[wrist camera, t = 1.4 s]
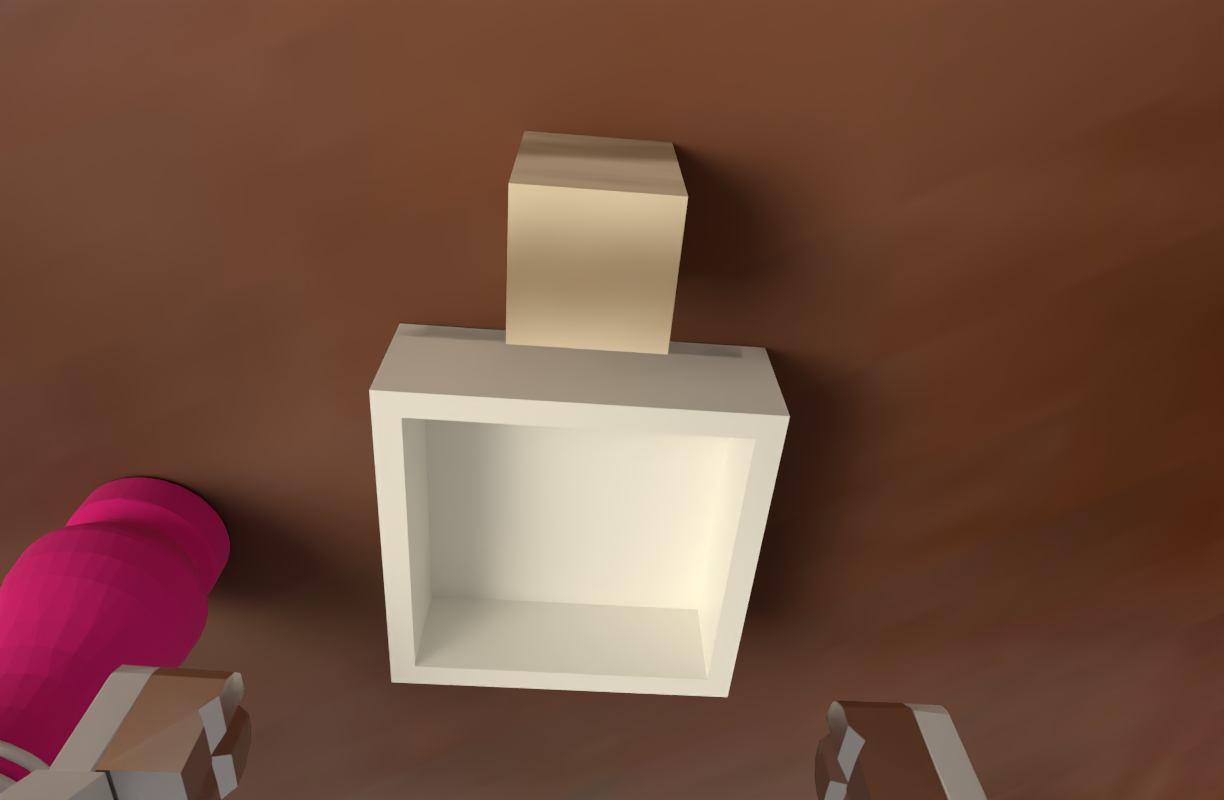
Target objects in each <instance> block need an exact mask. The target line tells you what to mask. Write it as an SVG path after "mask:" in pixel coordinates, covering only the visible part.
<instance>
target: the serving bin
mask: <svg viewBox="0 0 1224 800" xmlns="http://www.w3.org/2000/svg"><path fill="white" fill-rule="evenodd" d="M369 393H370V406H371V419H372V432H373V446H374V459H375V472H376V485H377V498H378V511H379V524H380V537H381V550H382V563H383V576H384V589H385V602H386V615H387V628H388V641H389V654H390V668H391V681H392V682H397V683H420V684H442V685H465V686H487V687H510V688H532V689H555V690H578V691H600V692H623V693H645V694H668V695H690V696H713V697H728V692H729V688H730V683H731V679H732V674H733V670H734V665H735V661H736V656H737V652H738V647H739V643H740V638H741V634H742V629H743V625H744V620H745V616H746V611H747V607H748V602H749V598H750V593H751V589H752V584H753V580H754V575H755V571H756V566H757V562H758V557H759V553H760V548H761V544H762V539H763V535H764V530H765V526H766V521H767V517H768V513H769V508H770V504H771V499H772V495H773V490H774V486H775V481H776V477H777V472H778V468H779V463H780V459H781V454H782V450H783V445H784V441H785V436H786V432H787V427H788V423H789V418H790V415H789V412H788V410H787V407H786V404H785V401H784V399H783V396H782V393H781V390H780V388H779V385H778V382H777V379H776V377H775V374H774V371H773V368H772V366H771V363H770V360H769V357H768V355H767V352H766V349H765V348H762V347H747V346H732V345H717V344H702V343H687V342H672V341H669V348H668V355H667V354H652V353H636V352H621V351H606V350H590V349H575V348H560V347H545V346H529V345H514V344H506V330H492V329H477V328H462V327H447V326H432V325H417V324H402V323H400V324H399V326H398V329H397V331H396V333H395V335H394V337H393V340H392V342H391V344H390V346H389V348H388V350H387V353H386V355H385V357H384V359H383V361H382V363H381V366H380V368H379V370H378V372H377V374H376V376H375V379H374V381H373V383H372V385H371V387H370V390H369Z"/></svg>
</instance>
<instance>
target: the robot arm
mask: <svg viewBox="0 0 1224 800" xmlns="http://www.w3.org/2000/svg"><path fill="white" fill-rule="evenodd" d="M243 693H244V686H243V682H242V678H241V674H239V673H235V672H224V671H211V670H197V669H184V668H171V667H152V666H136V665H121V666H120V667H119V668H118V669H116V670H115V671H114V672H113V673H112V674H110V676H109V677H108V679H107V680H106V682H105V684H104V685H103V687H102V688H101V690H100V691H99V693H98V694H97V696H96V697H95V699H94V700H93V702H92V704H91V705H90V707H89V708H88V710H87V711H86V713H85V714H84V716H83V717H82V719H81V720H80V722H79V723H78V725H77V727H76V728H75V730H74V731H73V733H72V734H71V736H70V737H69V739H68V740H67V742H66V743H65V745H64V746H63V748H62V750H61V751H60V753H59V754H58V756H57V757H56V759H55V760H54V762H53V763H52V765H51V766H50V768H49V769H48V770H46V769H36V770H35V771H33V772H32V773H30V774H29V775H27V776H26V777H24V778H23V779H21V780H20V781H18V782H17V783H15V784H14V785H12V786H11V787H9V788H7V789H6V790H4V791H3V792H1V793H0V800H221V799H222V798H223V797H225V796H226V795H227V794H228V793H230V792H231V791H232V790H233V789H235V788H236V787H237V786H238V784H239V781H240V779H241V776H242V774H243V771H244V769H245V766H246V762H247V757H248V752H249V748H250V743H251V724H250V718H249V714H248V713H247V712H246V711H245V710H244V709H243V708H242V707H240V706H239V705H238V704H239V702H240V700H241V698H242V696H243ZM826 719H827V723H828V727H829V730H830V733H829V734H828V735H826V736H825V737H824V738H822V739H821V740H820V741H819V745H818V749H817V753H816V757H815V784H816V792H817V797H818V800H987V798H986V796H985V794H984V791H983V789H982V787H981V785H980V782H979V780H978V778H977V776H976V774H975V771H974V769H973V767H972V765H971V762H970V760H969V758H968V756H967V753H966V751H965V749H964V747H963V745H962V742H961V740H960V738H959V736H958V733H957V731H956V729H955V727H954V725H953V722H952V720H951V718H950V716H949V713H948V711H947V710H946V709H945V708H944V707H943V706H942V705H924V704H903V703H888V702H860V701H835V702H834V703H833V704H832V705H831V706H830V709H829V712H828V715H827V718H826Z"/></svg>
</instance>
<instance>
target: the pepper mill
mask: <svg viewBox="0 0 1224 800" xmlns="http://www.w3.org/2000/svg"><path fill="white" fill-rule="evenodd" d="M229 554H230V539H229V536H228V533H227V530H226V527H225V525H224V524H223V522H222V520H221V518H220V517H219V515H218V513H217V512H216V511H215V510H214V509H213V508H211V507H210V506H209V505H208V504H207V503H206V502H205V501H204V500H203V499H202V498H201V497H199V496H198V495H196V494H194V493H192V492H191V491H189V490H187V489H185V488H184V487H182V486H179V485H176V484H173V483H170V482H167V481H164V480H161V479H153V478H146V477H135V478H122V479H118V480H114V481H111V482H109V483H107V484H104V485H102V486H100V487H99V488H97V489H96V490H95V491H94V492H92V493H91V494H90V495H89V497H88V498H87V499H86V500H85V501H84V503H83V504H82V505H81V506H80V507H79V508H78V510H77V511H76V512H75V513H74V514H73V516H72V517H71V518H70V520H69V521H68V523H67V524H66V527H63V528H60V529H58V530H55V531H53V532H50V533H48V534H46V535H44V536H42V537H41V538H40V539H38V540H37V541H36V542H34V543H33V544H32V545H30V546H29V547H28V548H27V549H26V550H25V552H24V553H23V554H22V555H21V556H20V558H19V559H18V560H17V562H16V563H15V565H14V566H13V567H12V569H11V570H10V571H9V573H8V574H7V576H6V577H5V579H4V581H3V584H2V586H1V589H0V793H1V792H3V791H4V790H6V789H7V788H9V787H11V786H12V785H14V784H15V783H17V782H18V781H20V780H21V779H23V778H24V777H26V776H27V775H29V774H30V773H32V772H33V771H35V770H36V769H46V770H48V769H49V768H50V766H51V765H52V763H53V762H54V760H55V759H56V757H57V756H58V754H59V753H60V751H61V750H62V748H63V746H64V745H65V743H66V742H67V740H68V739H69V737H70V736H71V734H72V733H73V731H74V730H75V728H76V727H77V725H78V723H79V722H80V720H81V719H82V717H83V716H84V714H85V713H86V711H87V710H88V708H89V707H90V705H91V704H92V702H93V700H94V699H95V697H96V696H97V694H98V693H99V691H100V690H101V688H102V687H103V685H104V684H105V682H106V680H107V679H108V677H109V676H110V674H112V673H113V672H114V671H115V670H116V669H118V668H119V667H120V666H121V665H136V666H152V667H171V668H178V667H179V666H180V665H181V664H182V663H183V662H184V660H185V659H186V657H187V656H188V654H189V653H190V651H191V650H192V648H193V647H194V646H195V644H196V643H197V641H198V640H199V638H200V636H201V634H202V632H203V629H204V627H205V623H206V620H207V616H208V600H207V595H208V594H209V592H210V591H211V590H212V588H213V587H214V585H215V583H216V581H217V580H218V578H219V576H220V574H221V572H222V571H223V569H224V567H225V565H226V563H227V561H228V558H229Z"/></svg>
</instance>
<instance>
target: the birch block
mask: <svg viewBox="0 0 1224 800" xmlns="http://www.w3.org/2000/svg"><path fill="white" fill-rule="evenodd" d="M687 202H688V194H687V191H686V188H685V184H684V181H683V177H682V174H681V171H680V167H679V164H678V160H677V157H676V154H675V150H674V147H673V144H672V142H659V141H646V140H634V139H621V138H609V137H596V136H583V135H571V134H558V133H545V132H533V131H524V135H523V138H522V141H521V145H520V148H519V151H518V154H517V158H516V161H515V164H514V167H513V171H512V174H511V177H510V181H509V195H508V248H507V301H506V344H514V345H529V346H545V347H560V348H575V349H590V350H606V351H621V352H636V353H652V354H667V355H668V348H669V341H670V333H671V325H672V317H673V310H674V302H675V294H676V287H677V279H678V271H679V263H680V256H681V248H682V240H683V233H684V225H685V217H686V209H687Z"/></svg>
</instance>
